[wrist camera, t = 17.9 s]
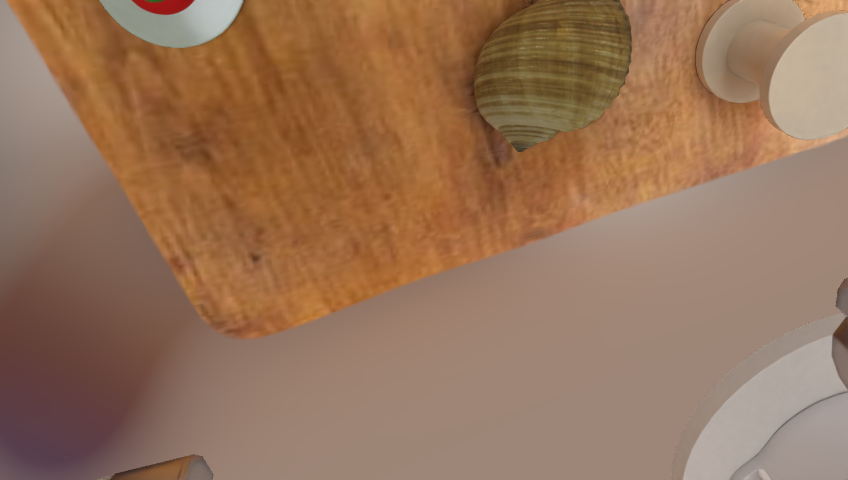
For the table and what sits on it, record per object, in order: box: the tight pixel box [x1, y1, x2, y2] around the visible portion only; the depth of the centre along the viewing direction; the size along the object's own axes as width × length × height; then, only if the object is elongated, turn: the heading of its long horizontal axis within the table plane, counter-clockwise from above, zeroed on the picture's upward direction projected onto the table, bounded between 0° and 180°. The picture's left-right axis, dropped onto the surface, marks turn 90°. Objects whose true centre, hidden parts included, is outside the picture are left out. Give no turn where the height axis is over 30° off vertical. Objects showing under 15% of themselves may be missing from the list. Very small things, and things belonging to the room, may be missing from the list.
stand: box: [696, 0, 848, 140], centre depth 35 cm, size 6×6×7 cm
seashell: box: [474, 0, 632, 152], centre depth 34 cm, size 10×7×8 cm
